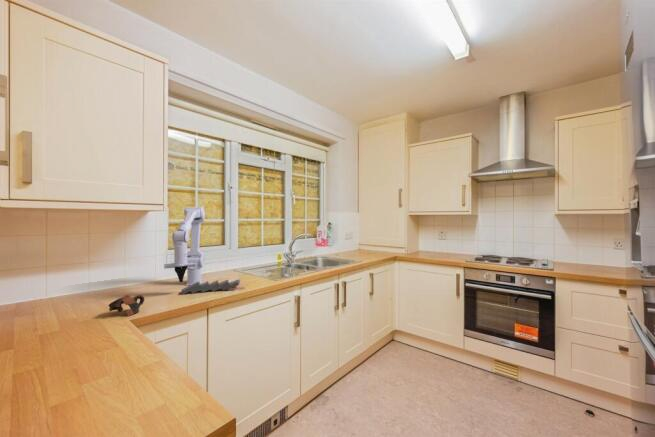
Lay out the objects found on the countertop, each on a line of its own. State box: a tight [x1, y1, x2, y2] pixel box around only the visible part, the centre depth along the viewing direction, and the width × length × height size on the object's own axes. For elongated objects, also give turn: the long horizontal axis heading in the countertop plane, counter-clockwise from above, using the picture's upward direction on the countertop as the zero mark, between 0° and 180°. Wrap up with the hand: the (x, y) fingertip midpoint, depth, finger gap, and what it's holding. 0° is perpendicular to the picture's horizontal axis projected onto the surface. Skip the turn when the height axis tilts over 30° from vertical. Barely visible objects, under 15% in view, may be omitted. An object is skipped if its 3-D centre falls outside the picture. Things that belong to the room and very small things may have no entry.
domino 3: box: [200, 280, 220, 293], centre depth 145 cm, size 5×2×8 cm
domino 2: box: [190, 280, 210, 294], centre depth 143 cm, size 5×2×8 cm
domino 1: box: [180, 281, 200, 295], centre depth 142 cm, size 5×2×8 cm
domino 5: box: [221, 279, 241, 292], centre depth 147 cm, size 5×2×8 cm
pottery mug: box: [108, 294, 145, 317], centre depth 113 cm, size 12×10×8 cm
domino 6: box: [227, 284, 246, 292], centre depth 149 cm, size 5×2×8 cm
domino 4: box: [211, 279, 230, 292], centre depth 147 cm, size 5×2×8 cm
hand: (181, 281), depth 140 cm, fingers closed
